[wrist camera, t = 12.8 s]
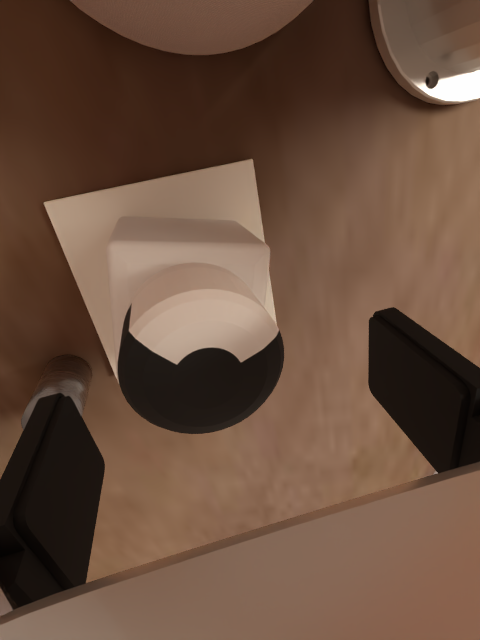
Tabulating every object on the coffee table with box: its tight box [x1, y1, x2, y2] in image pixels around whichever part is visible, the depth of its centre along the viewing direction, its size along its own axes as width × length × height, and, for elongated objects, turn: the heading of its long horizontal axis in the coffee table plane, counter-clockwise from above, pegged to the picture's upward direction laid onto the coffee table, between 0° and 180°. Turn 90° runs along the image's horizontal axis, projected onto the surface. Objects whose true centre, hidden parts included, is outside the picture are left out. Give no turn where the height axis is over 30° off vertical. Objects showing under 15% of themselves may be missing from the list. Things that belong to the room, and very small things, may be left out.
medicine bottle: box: [106, 216, 284, 434], centre depth 17 cm, size 7×7×12 cm
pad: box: [44, 159, 277, 378], centre depth 23 cm, size 12×12×1 cm
